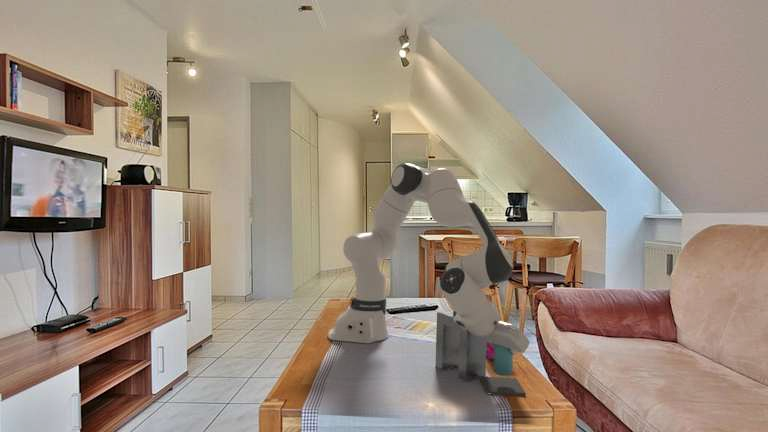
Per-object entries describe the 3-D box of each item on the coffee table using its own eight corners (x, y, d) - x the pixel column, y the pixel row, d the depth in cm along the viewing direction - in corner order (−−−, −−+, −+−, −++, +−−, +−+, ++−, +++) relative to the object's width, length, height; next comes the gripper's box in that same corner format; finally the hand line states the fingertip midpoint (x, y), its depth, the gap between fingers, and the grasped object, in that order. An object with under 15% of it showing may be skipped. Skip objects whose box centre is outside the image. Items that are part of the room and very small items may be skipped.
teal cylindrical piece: (495, 375, 118) (497, 329, 118) (492, 368, 123) (493, 324, 123) (514, 375, 118) (515, 329, 118) (510, 368, 123) (511, 324, 123)
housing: (465, 381, 124) (467, 315, 123) (435, 367, 135) (437, 305, 134) (485, 376, 129) (487, 311, 128) (454, 362, 139) (456, 302, 139)
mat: (487, 394, 116) (487, 391, 116) (480, 379, 126) (480, 376, 126) (525, 395, 116) (525, 392, 116) (516, 380, 126) (516, 378, 126)
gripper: (520, 317, 108) (543, 350, 114) (460, 301, 125) (483, 330, 130) (507, 338, 105) (531, 370, 111) (448, 318, 122) (472, 347, 128)
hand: (505, 348), depth 121 cm, fingers closed on teal cylindrical piece, 5 cm apart
